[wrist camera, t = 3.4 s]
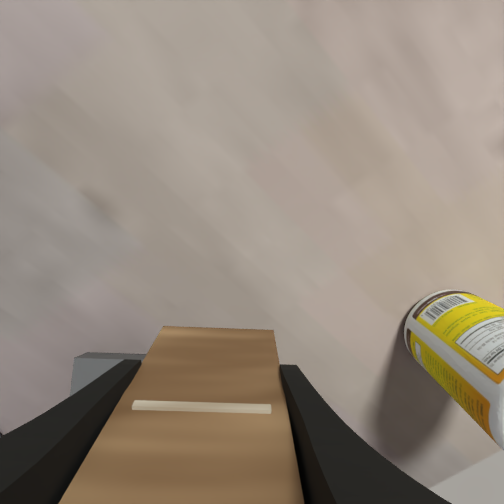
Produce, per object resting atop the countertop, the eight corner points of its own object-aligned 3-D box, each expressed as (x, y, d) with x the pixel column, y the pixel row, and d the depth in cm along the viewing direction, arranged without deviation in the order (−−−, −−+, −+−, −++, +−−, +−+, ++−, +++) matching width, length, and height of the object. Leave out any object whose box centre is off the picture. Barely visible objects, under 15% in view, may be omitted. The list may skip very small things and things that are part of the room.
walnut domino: (163, 323, 13) (-56, 688, 4) (273, 327, 14) (340, 691, 4) (164, 360, 14) (-34, 776, 4) (271, 363, 14) (325, 774, 4)
